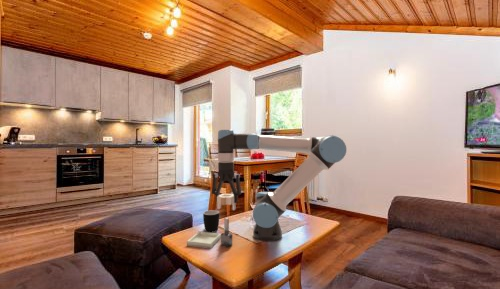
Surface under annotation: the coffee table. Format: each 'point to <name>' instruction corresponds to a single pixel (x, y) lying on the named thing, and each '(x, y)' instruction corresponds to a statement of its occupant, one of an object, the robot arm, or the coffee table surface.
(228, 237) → the peg stand
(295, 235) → the coffee table surface
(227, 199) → the white hollow block
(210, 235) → the tray
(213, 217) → the mug
